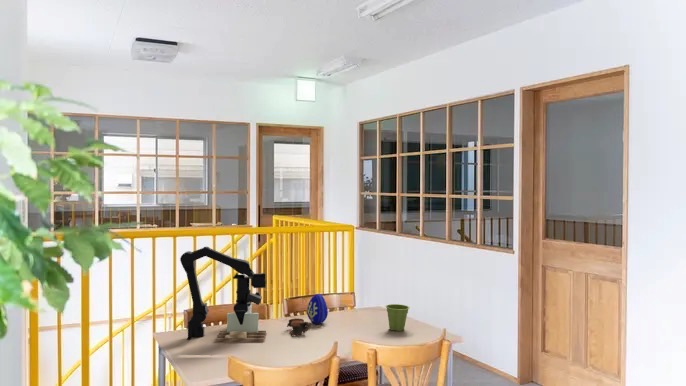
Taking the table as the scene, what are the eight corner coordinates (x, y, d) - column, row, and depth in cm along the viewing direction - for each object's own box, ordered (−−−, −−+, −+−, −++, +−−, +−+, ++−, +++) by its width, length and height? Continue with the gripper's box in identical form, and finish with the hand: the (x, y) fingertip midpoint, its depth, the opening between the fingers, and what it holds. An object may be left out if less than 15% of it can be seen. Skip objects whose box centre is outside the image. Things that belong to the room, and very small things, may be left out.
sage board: (226, 335, 245) (227, 313, 245) (227, 334, 246) (227, 312, 246) (257, 335, 246) (258, 313, 246) (258, 334, 247) (258, 312, 247)
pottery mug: (283, 336, 250) (283, 319, 254) (292, 341, 258) (292, 324, 262) (306, 332, 246) (306, 315, 250) (315, 337, 254) (314, 320, 258)
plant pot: (401, 334, 256) (401, 310, 256) (380, 329, 263) (380, 306, 263) (413, 329, 266) (414, 306, 266) (393, 325, 273) (393, 303, 273)
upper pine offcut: (229, 336, 236) (229, 333, 236) (230, 334, 239) (230, 331, 239) (245, 336, 236) (245, 333, 236) (246, 334, 239) (246, 331, 239)
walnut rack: (214, 344, 234) (214, 338, 234) (219, 335, 249) (219, 329, 249) (264, 344, 235) (264, 338, 235) (267, 335, 250) (267, 329, 250)
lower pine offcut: (224, 341, 235) (225, 336, 235) (226, 339, 239) (226, 334, 239) (245, 341, 236) (245, 336, 236) (246, 339, 239) (246, 334, 239)
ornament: (303, 322, 275) (304, 293, 275) (317, 319, 281) (318, 291, 281) (317, 326, 267) (318, 296, 267) (331, 323, 273) (331, 294, 273)
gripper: (259, 292, 237) (258, 327, 237) (262, 284, 256) (261, 317, 256) (233, 292, 236) (233, 327, 236) (239, 284, 255) (238, 317, 255)
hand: (242, 322), depth 246 cm, fingers open, 9 cm apart
